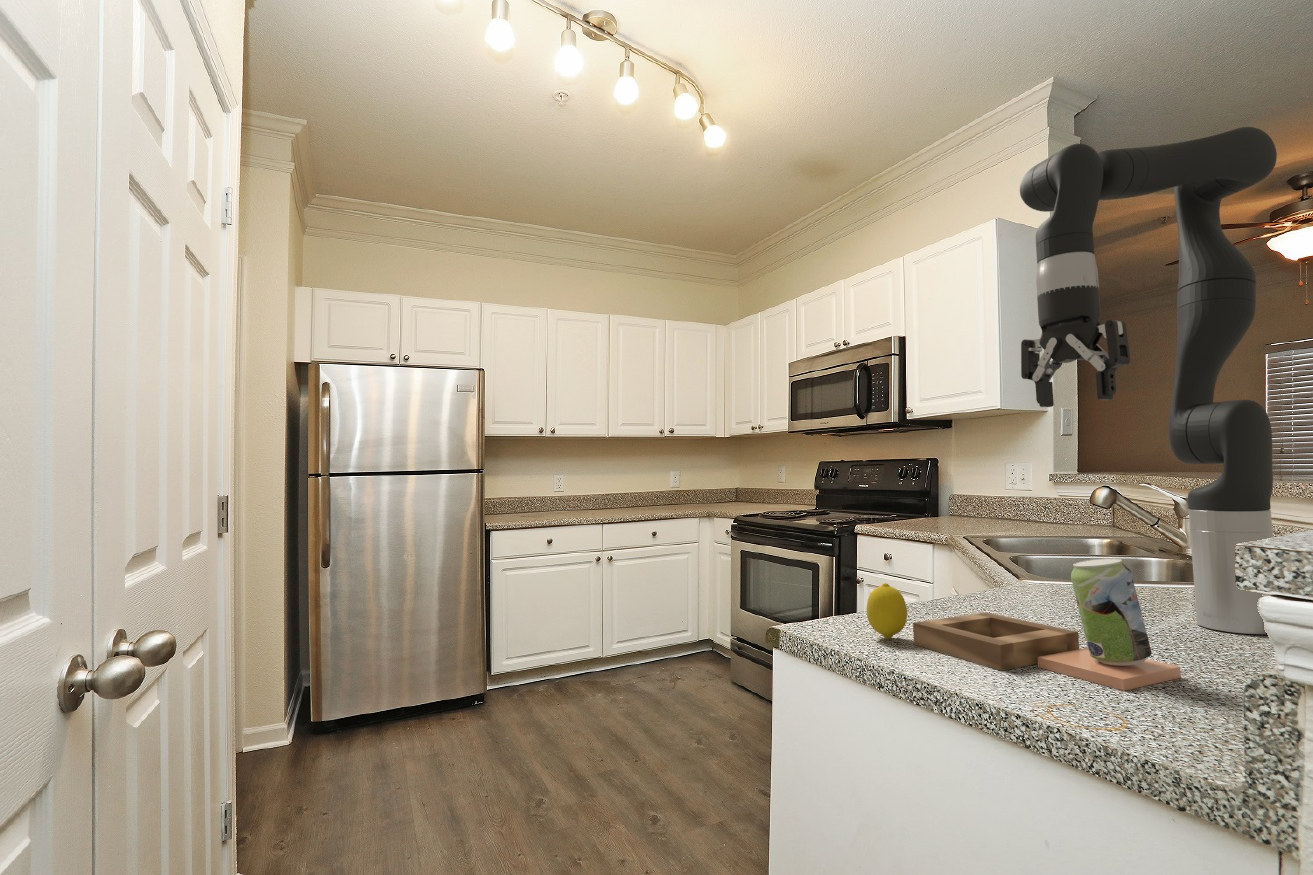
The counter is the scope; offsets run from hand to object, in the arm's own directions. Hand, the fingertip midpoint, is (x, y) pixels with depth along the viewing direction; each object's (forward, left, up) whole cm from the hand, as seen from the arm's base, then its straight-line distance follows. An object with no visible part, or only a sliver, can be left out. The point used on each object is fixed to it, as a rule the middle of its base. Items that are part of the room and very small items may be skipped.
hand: (1074, 403), depth 93 cm
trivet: (+12, +10, -33) cm, 37 cm away
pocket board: (+15, -3, -33) cm, 36 cm away
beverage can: (+12, +11, -32) cm, 36 cm away
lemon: (+23, -14, -33) cm, 43 cm away
